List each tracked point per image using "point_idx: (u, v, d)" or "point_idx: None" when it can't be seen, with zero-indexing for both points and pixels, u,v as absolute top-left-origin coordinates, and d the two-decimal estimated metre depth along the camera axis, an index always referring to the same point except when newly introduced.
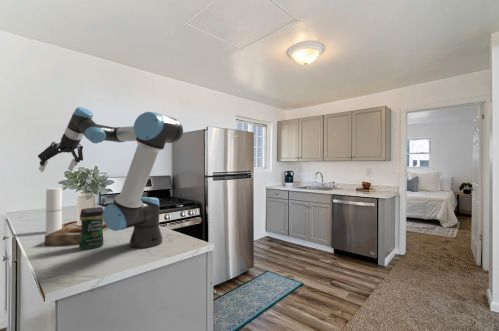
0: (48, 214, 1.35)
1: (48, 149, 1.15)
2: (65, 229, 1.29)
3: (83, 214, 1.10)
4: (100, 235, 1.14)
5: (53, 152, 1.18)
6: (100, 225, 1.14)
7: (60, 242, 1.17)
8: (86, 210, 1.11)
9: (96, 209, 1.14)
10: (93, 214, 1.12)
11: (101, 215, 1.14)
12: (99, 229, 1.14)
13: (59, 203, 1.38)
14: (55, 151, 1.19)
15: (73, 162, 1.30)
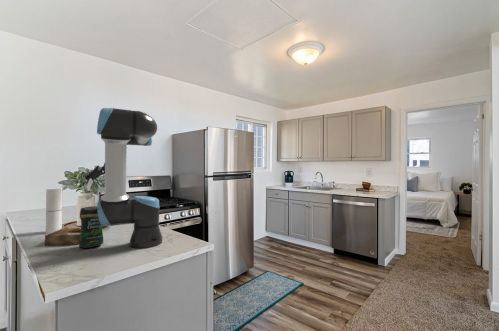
0: (48, 214, 1.35)
1: None
2: (65, 229, 1.29)
3: (83, 212, 1.12)
4: (100, 233, 1.15)
5: None
6: None
7: (60, 242, 1.17)
8: (85, 208, 1.13)
9: (95, 207, 1.16)
10: (93, 211, 1.13)
11: None
12: (99, 226, 1.15)
13: (59, 203, 1.38)
14: None
15: None
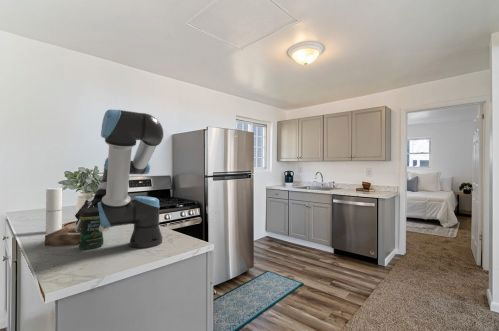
0: (48, 214, 1.35)
1: None
2: (65, 229, 1.29)
3: (83, 214, 1.10)
4: (100, 235, 1.14)
5: None
6: None
7: (60, 242, 1.17)
8: (85, 210, 1.11)
9: (96, 209, 1.14)
10: (93, 214, 1.12)
11: None
12: None
13: (59, 203, 1.38)
14: None
15: None
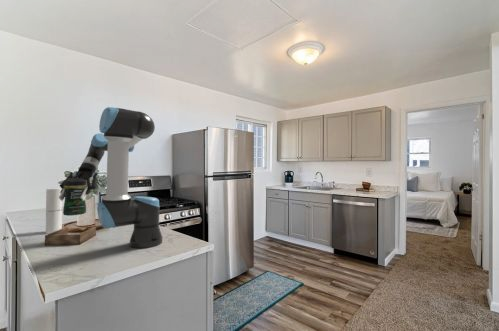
0: (48, 214, 1.35)
1: None
2: (65, 229, 1.29)
3: (66, 183, 1.19)
4: (83, 203, 1.24)
5: None
6: None
7: (60, 242, 1.17)
8: (69, 179, 1.21)
9: (79, 179, 1.23)
10: (76, 183, 1.21)
11: (83, 185, 1.24)
12: None
13: (59, 203, 1.38)
14: None
15: None
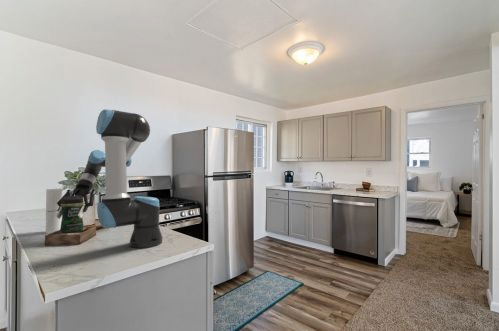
0: (48, 214, 1.35)
1: None
2: None
3: (63, 201, 1.20)
4: (80, 221, 1.25)
5: None
6: None
7: (60, 242, 1.17)
8: (66, 198, 1.21)
9: (76, 197, 1.24)
10: (73, 201, 1.22)
11: (80, 202, 1.24)
12: None
13: None
14: None
15: None
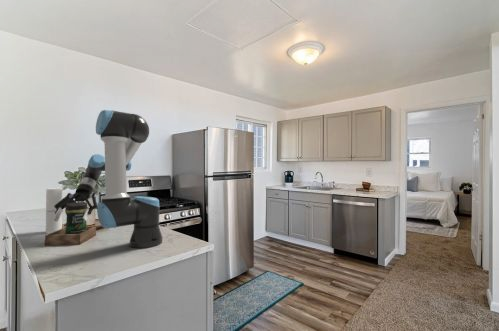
0: (48, 214, 1.35)
1: None
2: None
3: (68, 208, 1.21)
4: (84, 227, 1.25)
5: None
6: None
7: (60, 242, 1.17)
8: (70, 204, 1.22)
9: (80, 203, 1.25)
10: (77, 207, 1.22)
11: (85, 209, 1.25)
12: (83, 221, 1.24)
13: None
14: None
15: None
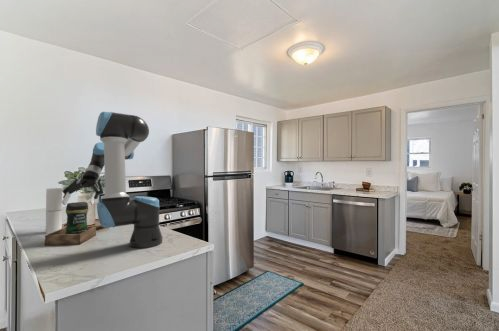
0: (48, 214, 1.35)
1: None
2: (65, 229, 1.29)
3: (69, 208, 1.21)
4: (85, 227, 1.25)
5: None
6: (85, 218, 1.25)
7: (60, 242, 1.17)
8: (71, 204, 1.22)
9: (81, 203, 1.25)
10: (78, 207, 1.22)
11: (86, 209, 1.25)
12: (84, 221, 1.25)
13: (59, 203, 1.38)
14: None
15: None
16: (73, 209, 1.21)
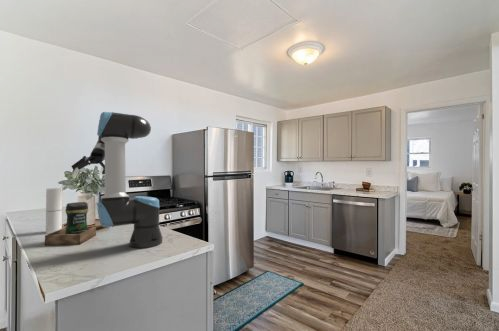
0: (48, 214, 1.35)
1: None
2: (65, 229, 1.29)
3: (68, 208, 1.21)
4: (85, 227, 1.25)
5: None
6: (84, 218, 1.25)
7: (60, 242, 1.17)
8: (71, 204, 1.22)
9: (81, 203, 1.25)
10: (78, 207, 1.22)
11: (85, 209, 1.25)
12: (84, 221, 1.25)
13: (59, 203, 1.38)
14: None
15: None
16: (73, 209, 1.21)
